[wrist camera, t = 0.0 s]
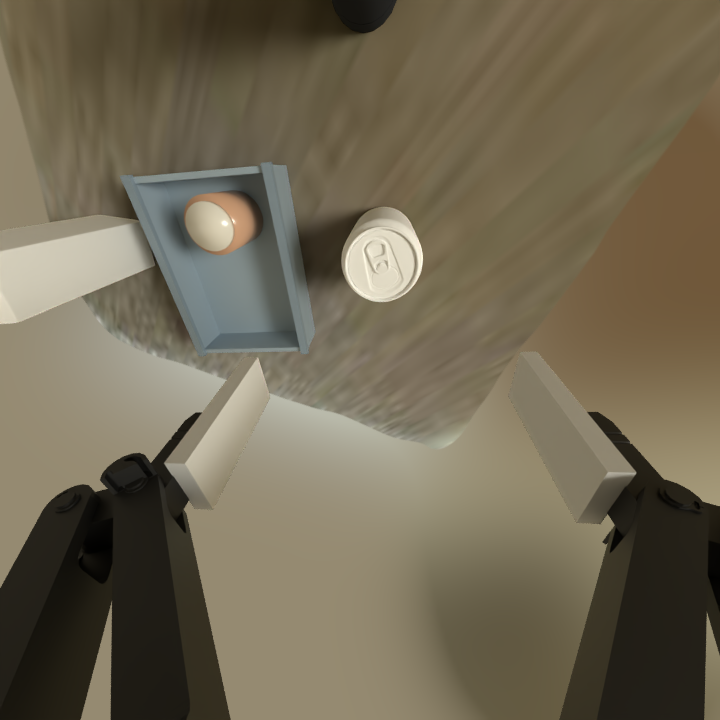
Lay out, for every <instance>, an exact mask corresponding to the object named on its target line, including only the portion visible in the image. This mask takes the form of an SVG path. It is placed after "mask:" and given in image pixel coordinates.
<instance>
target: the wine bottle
mask: <svg viewBox="0 0 720 720" xmlns="http://www.w3.org/2000/svg"><path fill="white" fill-rule="evenodd" d="M396 1H397V0H332V2H333V5H334V8H335V11H336V13H337V14H338V16H339V17H340V19H341V20H342V22H343V23H344V24H345V25H346V26H348V27H349V28H350V29H352V30H354V31H357V32H361V33H365V32H370V31H374V30H375V29H377V28H378V27H380V26H381V25H382V24H383V23H384V22H385V21H386V19H387V18H388V17H389V16H390V14H391V13H392V10H393V8H394V5H395V3H396Z"/></svg>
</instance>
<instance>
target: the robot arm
mask: <svg viewBox="0 0 720 720" xmlns="http://www.w3.org/2000/svg"><path fill="white" fill-rule="evenodd" d="M269 399H270V395H269V392H268V388H267V385H266V382H265V379H264V376H263V372H262V369H261V366H260V363H259V359H258V357H244V358H243V359H242V361H241V362H240V363H239V365H238V366H237V367H236V369H235V370H234V371H233V373H232V374H231V375H230V377H229V378H228V379H227V381H226V382H225V383H224V385H223V386H222V387H221V389H220V390H219V391H218V393H217V394H216V395H215V396H214V398H213V399H212V400H211V402H210V403H209V404H208V406H207V407H206V408H205V410H204V411H203V412H202V413H195V414H193V415H192V416H191V417H189V418H188V419H187V420H185V421H184V423H183V424H182V425H181V427H180V428H179V429H178V431H177V432H176V433H175V434H174V435H173V436H172V439H171V440H169V441H168V443H167V444H166V445H165V446H164V448H163V449H162V450H161V452H160V453H159V454H158V455H157V456H156V458H155V459H154V460H153V461H152V463H150V462H149V460H148V459H147V457H146V456H145V455H144V454H141V453H133V454H130V455H127V456H124V457H122V458H120V459H118V460H116V461H115V462H113V463H112V464H111V465H110V466H109V467H107V469H106V470H105V471H104V472H103V474H102V476H101V479H100V481H101V482H102V483H103V484H104V485H105V486H106V487H107V488H108V489H106V490H102V491H98V492H95V491H94V490H92V488H91V487H90V486H89V485H77V486H74V487H71V488H69V489H67V490H65V491H63V492H62V493H60V494H59V495H57V496H56V497H55V498H53V499H52V500H51V501H50V502H49V503H48V504H47V506H46V507H45V508H44V510H43V511H42V513H41V515H40V517H39V519H38V520H37V522H36V524H35V526H34V528H33V529H32V531H31V533H30V535H29V537H28V539H27V541H26V542H25V544H24V546H23V548H22V550H21V552H20V554H19V555H18V557H17V559H16V561H15V562H14V564H13V566H12V568H11V570H10V572H9V574H8V575H7V577H6V579H5V581H4V583H3V584H2V586H1V588H0V720H80V719H81V716H82V712H83V707H84V704H85V700H86V697H87V692H88V689H89V685H90V681H91V678H92V674H93V670H94V666H95V662H96V658H97V654H98V651H99V647H100V643H101V640H102V636H103V632H104V628H105V624H106V621H107V616H108V613H109V609H110V605H111V602H112V652H111V655H112V656H111V720H230V715H229V710H228V706H227V701H226V696H225V691H224V687H223V682H222V677H221V673H220V668H219V664H218V659H217V654H216V650H215V645H214V640H213V636H212V631H211V626H210V622H209V617H208V612H207V607H206V603H205V598H204V594H203V589H202V584H201V580H200V575H199V570H198V566H197V561H196V556H195V552H194V547H193V542H192V538H191V533H190V528H189V524H188V519H187V515H186V513H185V511H184V508H185V506H186V504H187V503H188V501H190V503H191V504H192V506H193V507H194V509H211V510H213V509H214V507H215V505H216V503H217V501H218V499H219V497H220V495H221V493H222V491H223V489H224V487H225V485H226V483H227V482H228V480H229V477H230V476H231V474H232V472H233V470H234V468H235V466H236V464H237V462H238V460H239V458H240V456H241V454H242V452H243V450H244V448H245V446H246V444H247V442H248V440H249V438H250V436H251V434H252V432H253V431H254V429H255V426H256V425H257V422H258V421H259V418H260V416H261V415H262V413H263V411H264V409H265V407H266V405H267V403H268V401H269ZM509 399H510V400H511V402H512V404H513V406H514V408H515V410H516V412H517V413H518V415H519V417H520V419H521V421H522V423H523V425H524V426H525V428H526V430H527V432H528V434H529V436H530V438H531V440H532V441H533V443H534V445H535V447H536V449H537V450H538V452H539V454H540V456H541V458H542V460H543V462H544V464H545V466H546V467H547V469H548V471H549V473H550V475H551V477H552V479H553V481H554V482H555V484H556V486H557V488H558V489H559V492H560V494H561V495H562V497H563V499H564V501H565V503H566V505H567V507H568V508H569V510H570V512H571V514H572V516H573V518H574V520H575V522H576V523H592V524H601V522H602V521H603V520H604V518H605V517H606V515H607V514H608V515H609V516H610V518H611V520H612V521H613V523H614V524H615V526H614V527H613V529H612V530H611V531H610V532H609V534H608V535H607V536H606V538H605V539H604V541H603V543H605V544H607V543H608V544H607V548H606V551H605V556H604V559H603V562H602V566H601V569H600V573H599V577H598V581H597V584H596V588H595V591H594V595H593V599H592V602H591V606H590V610H589V613H588V617H587V621H586V624H585V628H584V632H583V635H582V639H581V643H580V646H579V650H578V654H577V657H576V661H575V664H574V668H573V672H572V675H571V679H570V683H569V686H568V690H567V694H566V697H565V701H564V705H563V708H562V712H561V716H560V719H559V720H704V703H705V662H706V619H707V618H706V617H707V613H708V617H709V620H710V623H711V627H712V630H713V634H714V637H715V641H716V644H717V647H718V651H719V654H720V506H716V505H712V504H709V503H705V502H702V500H701V499H700V498H699V497H698V496H696V495H695V494H694V493H693V492H691V491H690V490H688V489H686V488H685V487H683V486H681V485H679V484H677V483H674V482H671V481H668V480H664V479H663V478H662V477H661V476H660V475H659V474H658V472H657V471H656V470H655V469H654V468H653V467H652V466H651V465H650V463H649V462H648V461H647V460H646V459H645V458H644V457H643V456H642V455H641V453H640V452H639V451H638V450H637V449H636V448H635V447H634V446H633V445H632V444H630V441H629V440H628V439H627V438H626V437H625V436H624V435H622V432H621V431H620V430H619V429H618V428H617V427H616V426H615V425H614V423H613V422H612V421H610V420H609V419H607V418H606V417H604V416H603V415H602V414H600V413H598V412H586V411H585V410H584V408H583V407H582V406H581V405H580V403H579V402H578V401H577V400H576V398H575V397H574V396H573V395H572V394H571V392H570V391H569V390H568V389H567V388H566V387H565V385H564V384H563V383H562V381H561V380H560V379H559V378H558V377H557V376H556V374H555V373H554V372H553V371H552V370H551V368H550V367H549V366H548V364H547V363H546V362H545V361H544V360H543V358H542V357H541V356H540V355H539V354H538V352H520V355H519V358H518V362H517V366H516V370H515V373H514V377H513V381H512V385H511V388H510V392H509Z"/></svg>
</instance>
